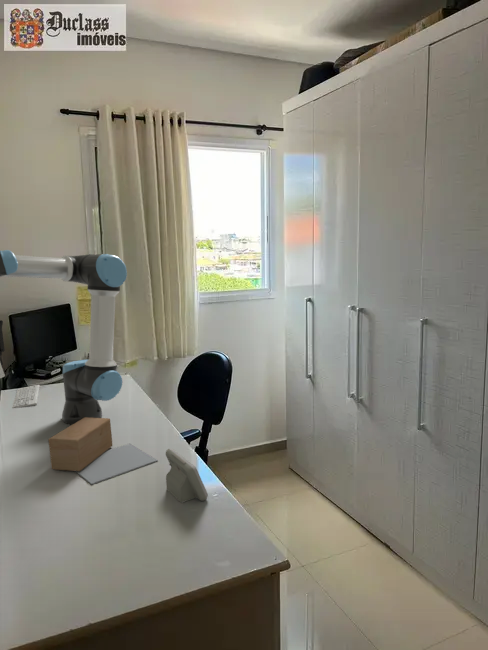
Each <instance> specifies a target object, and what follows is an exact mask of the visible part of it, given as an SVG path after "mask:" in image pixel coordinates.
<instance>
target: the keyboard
mask: <svg viewBox="0 0 488 650" xmlns="http://www.w3.org/2000/svg"><path fill="white" fill-rule="evenodd" d="M40 387H41V385H40V384H33V385H29V386H26V387H21V388H18V389H17V390H16V394H15V398H14V400H13V403H12V407H11V409H19V408H26V407H33V406H34V407H35V406H37V405H38V400H39V393H40Z"/></svg>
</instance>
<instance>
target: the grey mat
mask: <svg viewBox="0 0 488 650" xmlns="http://www.w3.org/2000/svg"><path fill="white" fill-rule="evenodd" d="M156 462H157V463H158V459H157V458H156V457H153V456H151V455H150V454H148V453H147V452H145V451H143V450H142V449H140V448H138V447H137V446H135V444H132V443H127V444H123V445H121V446H117V447H114V448H111V449H110V448H109V449H108V450H107V451H105V452H104V453H103V454H101V455H100V456H99V457H98V458H96V459H95V460H94V461H92V462H91V463H90V464H88V465H87V466H86V467H85V468H83V469H82V470H81V471H74V472H75V473H77V475H79V476H80V477H82V479H84V480H85V481H86V482H87V483H89V485H92V486H93V485H96V484H99V483H101V482H104V481H107V480H110V479H112V478H115V477H118V476H120V475H123V474H126V473H129V472H133V471H134V470H138V469H140V468H143V467H145V466H148V465H150V464H155V463H156Z"/></svg>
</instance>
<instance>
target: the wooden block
mask: <svg viewBox="0 0 488 650" xmlns="http://www.w3.org/2000/svg"><path fill="white" fill-rule="evenodd" d="M112 435H113V434H112V425H111V419H110V418H108V417H107V418H106V417H101V418H87V417H85V418H83V419H81V420H79V421H78V422H76V423H74V424H70V426H68V427H66V428H65V429H63V430H61V431H59V432H58V433H55V434H54V435H53V436H51V437H49V438H48V448H49V457H50V465H51V470H57V471H59V470H60V471H72V472H75V471H81V470H82V469H83V468H85V467H86V466H87V465H88V464H90V463H91V462H92V461H94V460H95V459H96V458H98V457H99V456H100V455H101V454H103V453H104V452H105V451H107V450H110V448H112V447H113V437H112Z"/></svg>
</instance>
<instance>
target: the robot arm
mask: <svg viewBox="0 0 488 650" xmlns="http://www.w3.org/2000/svg"><path fill="white" fill-rule="evenodd" d="M127 276H128V272H127V265H126V263H124V261H123V260H122V259H121V258H120V257H119V256H117V255H114V254H109V253H103V254H99V253H98V254H96V253H95V254H94V253H93V254H91V253H90V254H82V255H81V254H80V255H63V256H61V257H50V256H34V255H33V256H32V255H21V254H20V255H17V254H14V252H13V251H11V250H10V249H5V250H0V278H1V277H4V278H6V277H8V278H9V277H10V278H32V279H61V280H62V281H63V282H71V283H79V284H84V285H86V286H87V289H86V290H87V292H88V293H89V294H90V295H91V300H90V301H91V303H90V305H91V306H90V325H89V326H90V329H89V331H90V332H89V355H88V359H80V360H73V361H70V362H66V363H64V364H63V366H62V373H61V374H62V377H63V389H64V390H63V391H64V399H65V401H64V405H63V409H62V414H61V420H62V422H63V423H64V424H65V423H66V424H68V425H73V424H74V423H76V422H78V421H79V420H81V419H83V418H85V417H87V418H102V416H103V412H102V411H103V409H102V407H101V405H100V402H99V401H102V402H103V401H104V402H107V401H110V400H112V399H114V398H116V396H117V395H118V394H119V393H120V392H121V389H122V386H123V377H122V375H121V374H120V373H119V371H117V370H118V367H117V366H118V364H117V362H116V361H115V360H114V340H115V339H114V338H115V321H116V320H115V319H116V318H115V316H116V297H117V295H118V294H119V293H120V292H121V286H122V285H124V282H126V280H127V278H128V277H127ZM3 325H4V322H3V320H1V319H0V379H2V378H4V377H6V374H5V372H4V369H3V367H2V366H3V365H4V363H3V361H2V357H1V356H3V352H5V341H4V336H3V333H4V332H3Z"/></svg>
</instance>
